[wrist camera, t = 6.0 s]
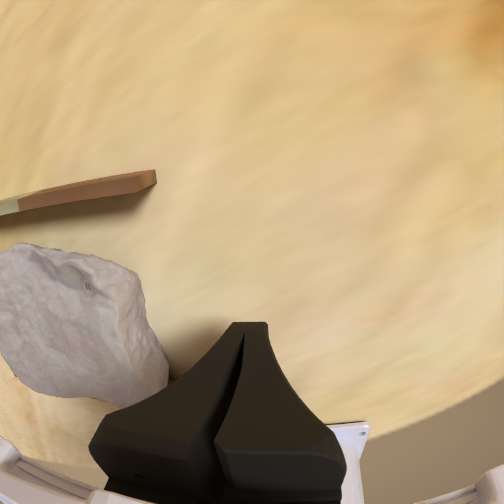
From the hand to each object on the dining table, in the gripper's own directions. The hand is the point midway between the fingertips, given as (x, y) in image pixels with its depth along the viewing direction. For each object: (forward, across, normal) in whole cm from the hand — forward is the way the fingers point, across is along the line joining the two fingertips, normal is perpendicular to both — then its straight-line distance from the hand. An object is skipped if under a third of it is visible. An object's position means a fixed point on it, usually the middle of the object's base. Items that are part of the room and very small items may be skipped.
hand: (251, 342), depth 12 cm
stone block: (+4, +11, +1) cm, 12 cm away
